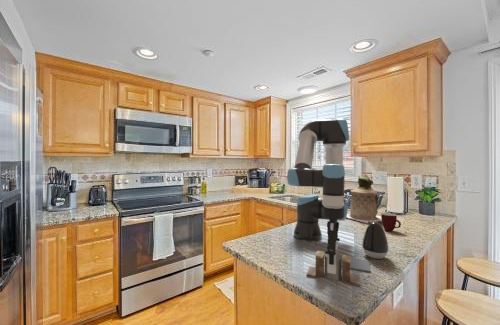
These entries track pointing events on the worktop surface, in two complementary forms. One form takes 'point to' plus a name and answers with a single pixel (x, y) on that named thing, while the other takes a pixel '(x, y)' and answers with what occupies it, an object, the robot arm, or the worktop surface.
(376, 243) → the pump dispenser
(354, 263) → the mat
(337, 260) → the power adapter
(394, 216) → the mug
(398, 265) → the worktop surface
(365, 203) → the cookie jar
